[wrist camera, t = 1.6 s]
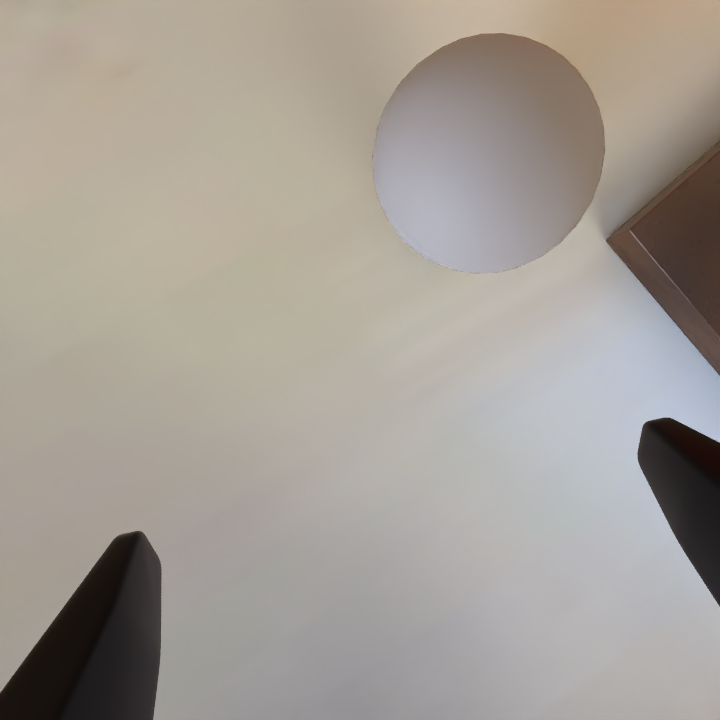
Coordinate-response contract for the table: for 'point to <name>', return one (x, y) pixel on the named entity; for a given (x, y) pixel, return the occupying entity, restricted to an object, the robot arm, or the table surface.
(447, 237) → the lightbulb
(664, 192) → the walnut board
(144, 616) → the robot arm
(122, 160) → the table surface
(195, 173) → the table surface
